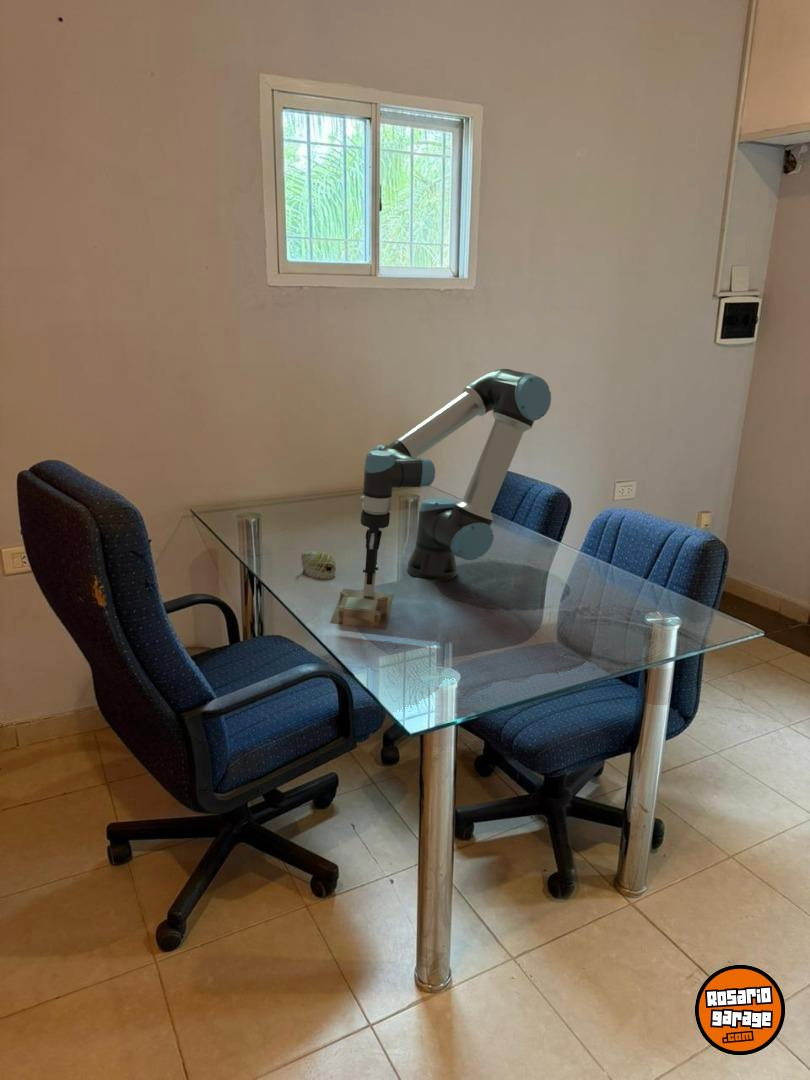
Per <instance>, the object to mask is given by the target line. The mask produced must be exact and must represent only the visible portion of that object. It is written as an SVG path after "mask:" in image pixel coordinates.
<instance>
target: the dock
mask: <svg viewBox="0 0 810 1080" xmlns="http://www.w3.org/2000/svg"><path fill="white" fill-rule="evenodd" d="M393 599H394V594H393V593H392V594H391V593H383V592H376V591H374V595H366V594H364V590H361V589H360V590H359V589H358V590H357V589H349V588H342V591H340V594H339V599H338V600H337V604H336V606H335V609H334V611H333V613H332V616H331V619H330V622H329V623H330V624H335V625H344V626H351V627H352V626H353V627H361V628H367V629H368V628H369V629H375V630H383V631H384V630H385V631H386V630H387V627H388V623H389V618H390V614H391V608H392V604H393Z"/></svg>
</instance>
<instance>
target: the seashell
mask: <svg viewBox="0 0 810 1080" xmlns="http://www.w3.org/2000/svg"><path fill="white" fill-rule="evenodd" d="M300 560H301V564H302V565H301V566H302V570H303V571H304V573H305V574H306V575H307V576H309V577H312V578H314V579H318V580H329V579H333V578H334V577H335V575H336V574H335V573H336V570H337V568H336V561H335V559H334V557H333V556H332V555H331V554H329V553H327V551H314V550H309V551H303V552H302V553H301V556H300Z"/></svg>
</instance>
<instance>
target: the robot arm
mask: <svg viewBox="0 0 810 1080" xmlns="http://www.w3.org/2000/svg"><path fill="white" fill-rule="evenodd" d="M551 403H552V392H551V391H550V386H549V384H548V383H547V382H546V380H545V379H543V378H542V377H540V376H537V375H535V374H532V373H530V372H528V373H527V372H523V371H517V370H513V369H509V368H501V369H500V368H498V369H494V370H493V371H490V372H488V373H485V374H484V375H482V376H481V377H478V378H476V379H475V380H473V381H471V382H470V383H469V384H468V385H466V386H464V387H463V389H462V393H461V394H460V395H458V396H457V397H454V399H452V400H451V401H449V402H448V403H447V404H445V405H444V406H443V407H441V408H440V409H438V410H436V411H435V412H434V413H433V414H431V415H430V416H428V417H427V418H425V419H424V420H423V421H421V422H419V423H418V424H417V425H415V426H414V427H413V428H412V429H410V430H408V431H407V432H406V433H403V435H402V436H399V437H398V438H397V439H395V440H394V441H393V442H392V443H390V444H388V445H387V444H379V445H376V446H375V447H374V448H373V449H372V450H371V451H368V452H367V453H366V456H365V460H364V461H365V463H364V468H363V471H364V472H363V473H364V475H363V488H362V489H363V490H362V496H360V498H359V500H360V501H362V502H361V508H362V509H361V511H360V524H361V525H362V526H363V527H366V528H368V529H366V532H365V549H366V552H365V554H366V555H365V568H364V569H363V570H362V573H364V583H363V591H364V594H366V595H374V592H375V584H376V572H377V571H379V567H378V566H377V565H378V562H377V560H378V553H379V549H380V544H381V539H382V533H383V532H382V530H381V529H385V528H387V527H389V525H390V517H391V516H390V515H391V513H390V511H391V509H392V498H393V489H400V488H401V489H402V488H403V489H404V488H422V487H428V486H431V485H432V484H433V482H434V481H435V478H436V467H435V464H434V462H433V461H432V460H431V459H430V458H425V457H423V458H422V457H420V456H422V455H423V454H425V453H426V452H428V451H429V450H430V449H432V448H433V447H435V446H436V445H438V444H439V443H440V442H442V441H443V440H445V439H446V438H447V437H449V436H450V435H451V434H453V433H455V432H457V430H458V429H460V428H461V427H462V426H465V425H466V424H467V423H469V422H470V421H471V420H473V419H474V418H476V417H477V416H479V417H482V416H484V415H486V414H488V412H490V411H492V416H493V419H494V421H493V425H492V428H491V429H490V433H489V435H488V438H487V440H486V441H485V445H484V447H483V448H482V451H481V454H480V457H479V459H478V462H477V465H476V466H475V469H474V471H473V474H472V476H471V478H470V481H469V484H468V486H467V488H466V491H465V492H464V496H463V498H462V499H461V500H460V501H458V500H456V499H449V498H426V499H423V500H422V502H420V507H419V510H418V520H417V521H418V522H417V531H416V541H415V546H414V549H413V551H412V553H411V555H410V558H409V560H408V562H407V567H406V569H407V573H408V574H409V575H411V576H413V577H415V578H417V579H423V580H430V581H440V582H447V581H448V580H449V581H452V580H454V579H455V578H456V577H457V573H458V567H457V562H456V557H458V558H460V559H463V560H465V561H474V560H477V559H478V558H479V559H480V558H481V557H484V555H485V554H487V553H488V552H489V550H490V548H491V547H492V546H493V542H494V538H495V537H494V536H495V535H494V531H493V529H492V528H491V527H492V523H493V521H494V516H493V515H492V509H493V507H494V505H495V502H496V499H497V497H498V495H499V492H500V490H501V488H502V485H503V483H504V480H505V478H506V475H507V474H508V471H509V469H510V467H511V465H512V464H511V463H512V461H513V458H514V457H515V454H516V452H517V449H518V447H519V444H520V442H521V440H522V437H523V435H524V433H525V432H527V431H529V430H531V429H532V428H533V425H534V422H535V421H538V420H541V419H542V418H543V417H545V415H547V413H548V411H549V409H550V407H551ZM455 576H456V577H455ZM454 577H455V578H454ZM453 578H454V579H453ZM451 579H452V580H451ZM449 581H448V582H449Z"/></svg>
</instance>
